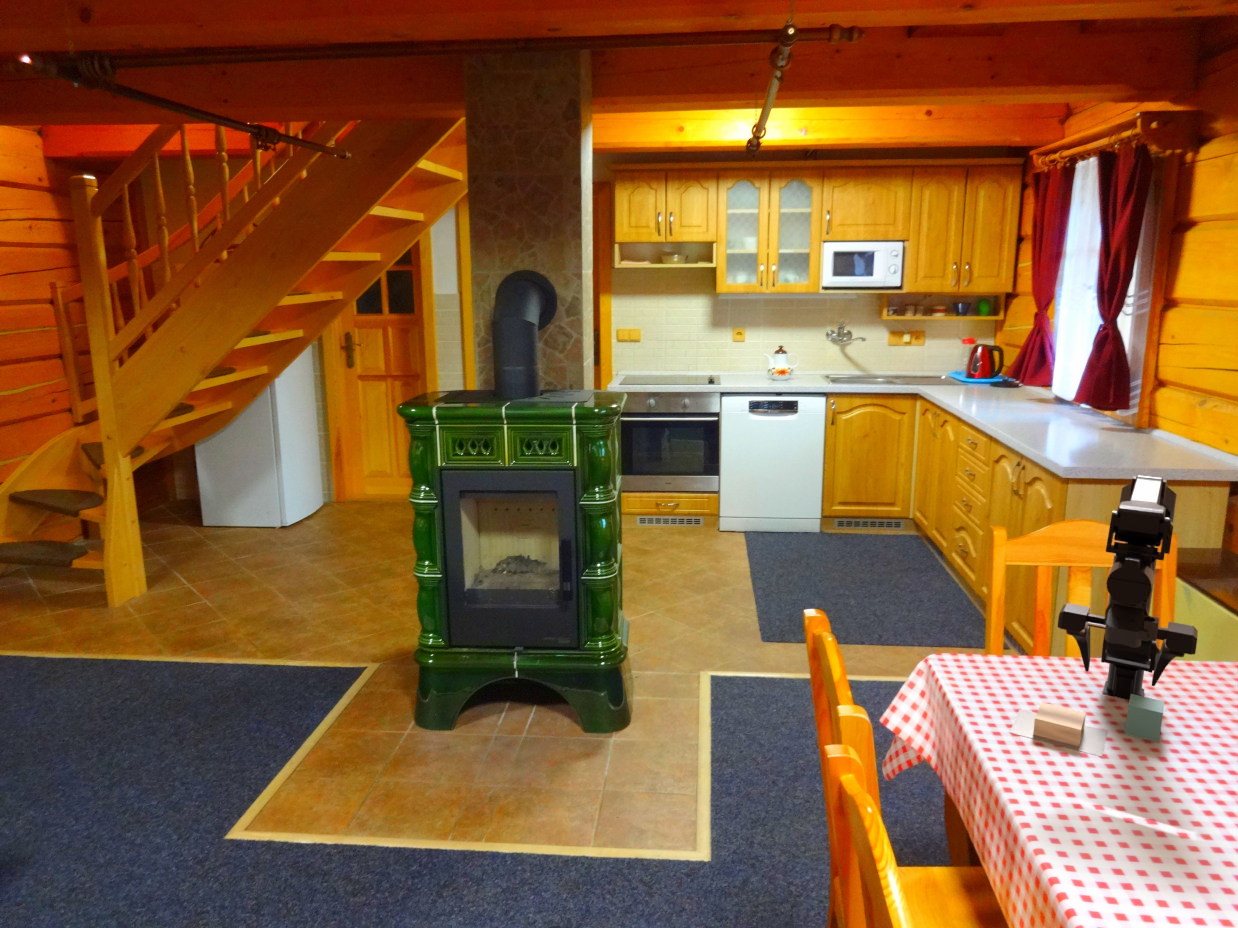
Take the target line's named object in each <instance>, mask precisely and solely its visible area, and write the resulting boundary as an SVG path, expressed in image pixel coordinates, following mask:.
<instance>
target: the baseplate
mask: <svg viewBox="0 0 1238 928" xmlns="http://www.w3.org/2000/svg"><path fill="white" fill-rule="evenodd" d="M1036 714H1037V712H1034V711H1029V710H1025V709H1022V708H1020V709H1019V710H1018V713H1017V715H1016V717H1015V720H1014V722H1013V724H1012V726H1011V728H1010V731H1009V734H1013V735H1018V736H1021V737H1024V738H1025V737H1026V738H1029V739H1032V740H1036V741H1041V742H1044V743H1047V744H1051V745H1055V746H1058V747H1062V748H1065V749H1071V750H1074V751H1078V752H1082V753H1086V754H1089V755H1092V756H1097V757H1100V758H1102V757H1103V754H1104V750H1105V749H1104V748H1105V746H1106V745H1105V744H1106V741H1107V736H1108V732H1109V730H1106V729H1103V728H1099V727H1095V726H1089V725H1086V724H1085V725H1084V731H1083V734H1082V738H1081V741H1080V745H1079V746H1076V745H1072V744H1068V743H1064V742H1060V741H1056V740H1053V739H1049V738H1045V737H1041V736H1037V735H1033V731H1034V722H1035V717H1036Z"/></svg>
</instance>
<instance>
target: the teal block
mask: <svg viewBox="0 0 1238 928" xmlns="http://www.w3.org/2000/svg"><path fill="white" fill-rule="evenodd" d="M1128 701H1129V702H1128V705H1127V706H1128V707H1127V714H1126V722H1125V730H1124V735H1128V736H1132V737H1136V738H1141V739H1144V740H1147V741H1151V742H1156V743H1159V742H1160V738H1161V737H1160V735H1161V730H1162V728H1161V727H1162V722H1163V717H1164V708H1165V707H1164V706H1165V701H1164V700H1160V699H1155V698H1153V697H1147V696H1138V695H1134V694H1131V695H1130V700H1128Z"/></svg>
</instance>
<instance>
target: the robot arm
mask: <svg viewBox="0 0 1238 928" xmlns="http://www.w3.org/2000/svg"><path fill="white" fill-rule="evenodd" d="M1177 495H1178V494H1177V493H1176V492H1175V491H1173V490H1172V489H1171V488H1170V487H1169V486H1168V485H1167V479H1164V478H1163V477H1159V476H1148V475H1142V474H1141V475H1140V474H1139V475H1136V476H1135V475H1134V476H1132V481H1131V482H1130V483H1128V484H1126V485H1125V486H1123V487H1122V488H1121V491H1120V497H1119V504H1118V507H1117V510H1112V513H1111V518H1110V523H1109V529H1108V535H1107V540H1106V541H1107V542H1106V547H1105V553H1111V554H1113V559H1112V560H1113V561H1112V566H1111V568H1110V571H1109V573H1108V577H1107V580H1106V590H1107V593H1108V600H1107V606H1106V608H1105V612H1104V616H1102V615H1098V614H1093V613H1091V612H1090V611H1091V607H1090V606H1086V605H1080V604H1074V603H1071V602H1070V603H1069V602H1066V603H1064V604H1063V605H1062V607H1061V609H1060V611H1059V614H1058V620H1057V628H1059V629H1060V630H1065V631H1066V632H1065V633H1066V634H1067V635H1069V636H1072V637H1073V638H1074V640H1075V641H1076V643H1077V645H1078V647H1079V653H1080V655H1081V659H1082V663H1083V667H1084V672H1086V673H1087V672H1089V670H1090V664H1091V627H1094V628H1097V629H1103V630H1105V631H1104V635H1103V640H1102V649H1101V658H1100V659H1101V660H1100V663H1106V664H1109V665H1108V672H1107V680H1105V681H1104V686H1103V690H1102V695H1106V696H1110V697H1114V698H1119V699H1122V700H1127V701H1129V700H1130V695H1131V694H1134V695H1138V696H1143V697H1145V689H1144V688H1143V683H1144V682H1143V681H1144V674H1145V672H1148V673H1150V674H1152V679H1151V687H1155V686H1156V684H1157V683H1158V681H1159V680H1160V678H1161V676H1162V674H1163V672H1164V671H1165V669H1166V668H1167V666H1169V664H1170V663H1171V662H1172V661H1173V660H1174V659H1175V658H1184V657H1185V655H1191V656H1192V655H1196V652H1197V651H1196V650H1197V645H1198V633H1199V632H1198V629H1197V628H1196V627H1195V626H1194V625H1189V624H1185V623H1184V624H1183V623H1179V622H1174V621H1168V623H1167V628H1166V627H1162V626H1159V624H1160V618H1159V617H1155V616H1151V615H1150V612H1151V604H1152V598H1153V591H1154V590H1153V589H1154V582H1155V576H1156V575H1155V574H1156V567H1157V563H1158V562H1157V561H1158V560H1159V561H1164V560H1165V554H1169V555H1170V553H1171V545H1172V538H1173V530H1174V525H1173V524H1172V523H1174V517H1175V512H1176V511H1175V510H1176V504H1177V503H1176V502H1177ZM1113 540H1114V543H1113ZM1158 547H1160V551H1159V548H1158ZM1157 640H1160V641H1162V644H1161V646H1160V648H1159V647H1158V644H1157Z"/></svg>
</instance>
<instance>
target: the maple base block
mask: <svg viewBox="0 0 1238 928" xmlns="http://www.w3.org/2000/svg"><path fill="white" fill-rule="evenodd" d="M1036 713H1037V714H1036V717H1035V722H1034V731H1033V735H1037V736H1041V737H1045V738H1049V739H1053V740H1056V741H1060V742H1064V743H1068V744H1072V745H1076V746H1079V745H1080V741H1081V738H1082V734H1083V731H1084V725H1086V723H1085V722H1086V717H1087V716H1086V715H1087V712H1084V711H1080V710H1076V709H1071V708H1068V707H1064V706H1060V705H1055V704H1051V703H1047V702H1043V701H1041V702H1040V705H1039V708H1038V709H1037V712H1036Z"/></svg>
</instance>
